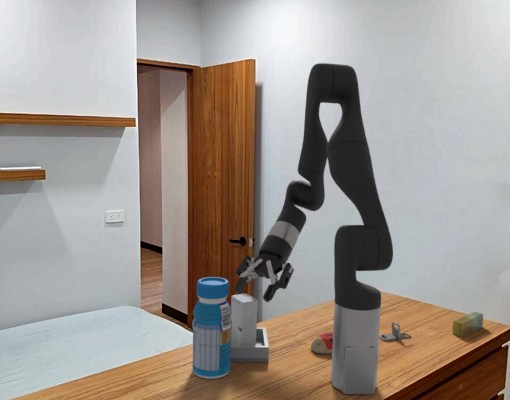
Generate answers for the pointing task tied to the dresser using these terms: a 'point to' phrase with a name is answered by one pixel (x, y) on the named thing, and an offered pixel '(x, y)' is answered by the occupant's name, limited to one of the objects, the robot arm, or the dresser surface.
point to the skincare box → (243, 320)
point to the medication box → (468, 324)
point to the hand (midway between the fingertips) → (251, 296)
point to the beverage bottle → (212, 329)
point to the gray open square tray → (252, 349)
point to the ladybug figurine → (323, 343)
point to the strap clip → (394, 334)
